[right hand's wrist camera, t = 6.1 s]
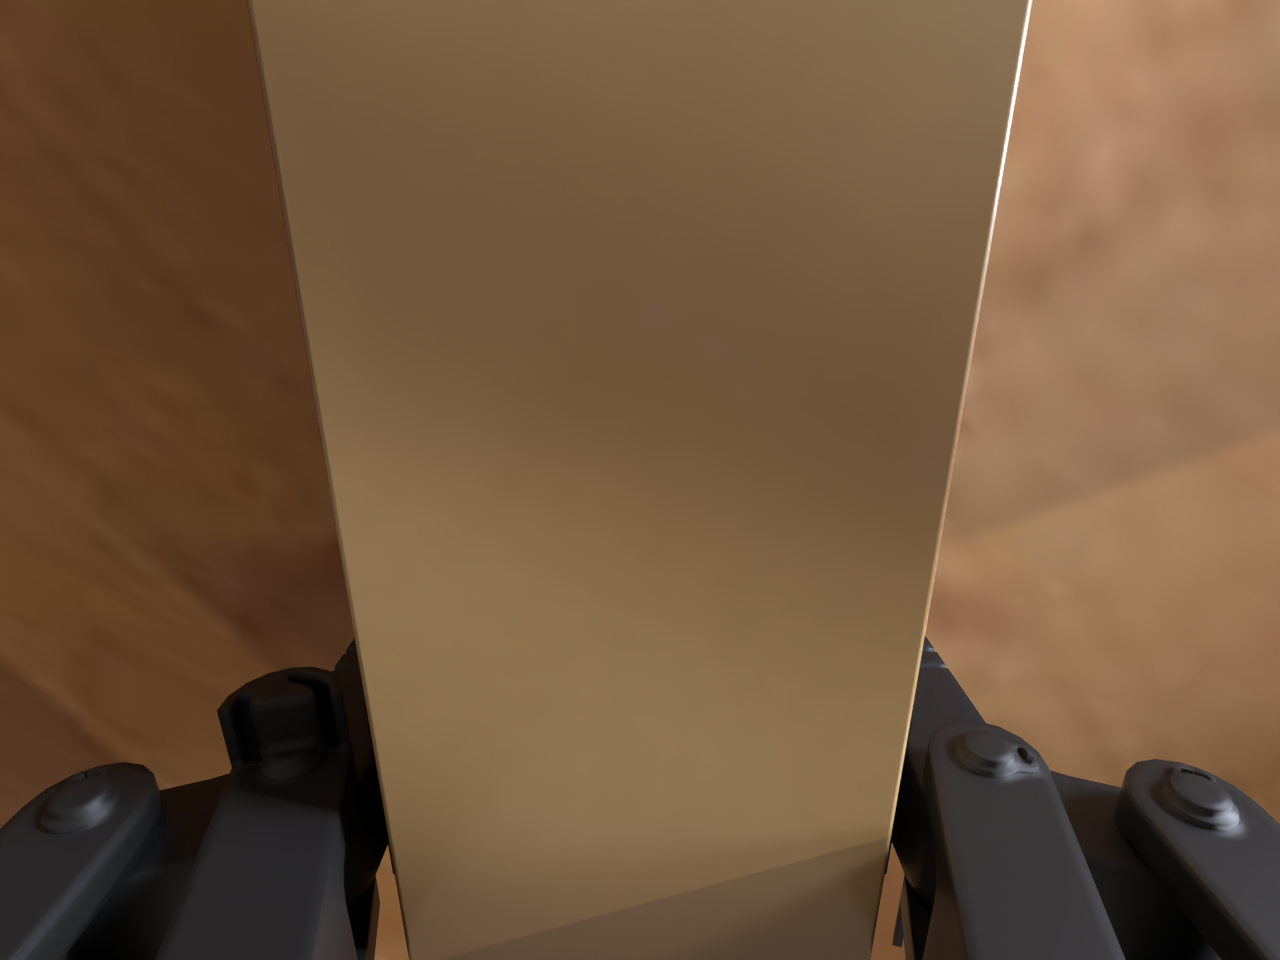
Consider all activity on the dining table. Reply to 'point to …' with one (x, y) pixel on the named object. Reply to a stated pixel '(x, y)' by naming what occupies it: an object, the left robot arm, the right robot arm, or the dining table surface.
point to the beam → (639, 438)
